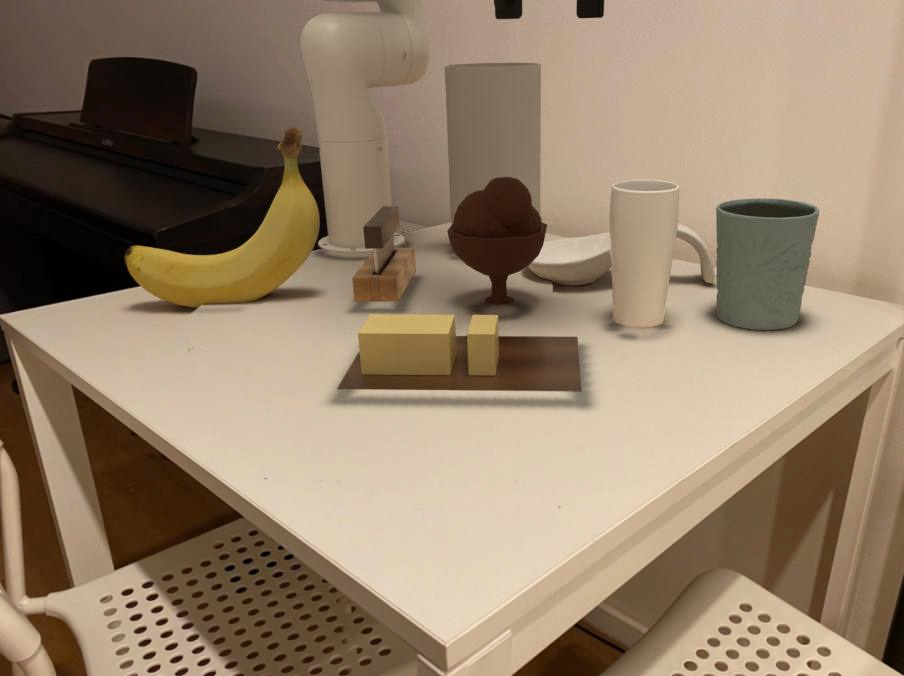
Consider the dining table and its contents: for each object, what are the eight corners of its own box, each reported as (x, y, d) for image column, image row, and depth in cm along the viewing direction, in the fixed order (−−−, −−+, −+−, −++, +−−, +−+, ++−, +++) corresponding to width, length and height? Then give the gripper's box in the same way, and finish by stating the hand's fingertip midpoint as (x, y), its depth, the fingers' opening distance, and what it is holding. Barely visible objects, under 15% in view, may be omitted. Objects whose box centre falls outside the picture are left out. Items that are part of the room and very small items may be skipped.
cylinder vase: (502, 237, 122) (499, 61, 112) (558, 253, 113) (560, 63, 103) (435, 252, 115) (425, 65, 105) (489, 270, 106) (485, 68, 96)
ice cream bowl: (548, 295, 96) (549, 167, 90) (543, 327, 85) (544, 185, 79) (460, 294, 97) (455, 167, 91) (445, 325, 86) (438, 185, 80)
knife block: (378, 278, 104) (375, 247, 102) (416, 278, 103) (414, 247, 102) (355, 310, 92) (352, 277, 90) (398, 311, 91) (396, 277, 90)
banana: (125, 315, 92) (86, 134, 84) (144, 299, 97) (110, 127, 89) (323, 310, 92) (303, 129, 84) (331, 295, 97) (314, 123, 89)
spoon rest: (519, 292, 97) (519, 234, 94) (525, 266, 108) (524, 212, 105) (719, 294, 95) (724, 234, 92) (704, 267, 105) (709, 212, 103)
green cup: (810, 335, 82) (828, 218, 77) (709, 330, 84) (720, 216, 79) (795, 304, 91) (810, 197, 86) (704, 300, 93) (713, 196, 88)
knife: (387, 272, 102) (382, 206, 99) (403, 272, 102) (398, 206, 99) (369, 299, 92) (363, 226, 89) (386, 299, 92) (380, 226, 89)
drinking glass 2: (670, 342, 81) (680, 192, 75) (602, 338, 82) (608, 191, 76) (670, 319, 87) (680, 179, 81) (608, 316, 88) (613, 178, 82)
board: (369, 346, 81) (368, 335, 81) (577, 347, 80) (577, 336, 80) (338, 401, 69) (336, 388, 69) (581, 403, 68) (581, 390, 68)
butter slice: (473, 354, 76) (472, 314, 74) (499, 354, 75) (498, 314, 74) (468, 375, 71) (466, 333, 69) (495, 376, 71) (494, 333, 69)
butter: (373, 353, 76) (369, 314, 75) (456, 354, 76) (455, 314, 74) (361, 374, 72) (357, 332, 70) (450, 375, 71) (448, 333, 69)
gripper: (597, -184, 74) (592, 18, 81) (440, -212, 65) (449, 20, 72) (658, -202, 69) (646, 16, 75) (495, -235, 59) (499, 18, 66)
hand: (550, 18), depth 74 cm, fingers open, 9 cm apart
